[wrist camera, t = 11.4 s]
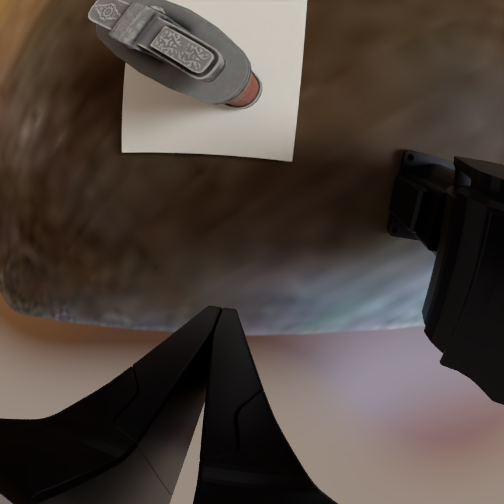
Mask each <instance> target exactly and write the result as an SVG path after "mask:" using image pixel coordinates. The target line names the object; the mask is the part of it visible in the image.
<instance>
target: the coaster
mask: <svg viewBox="0 0 504 504" xmlns="http://www.w3.org/2000/svg"><path fill="white" fill-rule="evenodd" d="M167 1H169V2H172V3H175V4H177V5H180V6H183V7H185V8H188V9H190V10H192V11H193V12H195V13H196V14H198V15H200V16H201V17H203V18H204V19H206V20H207V21H209V22H210V23H212V24H213V25H215V26H216V27H218V28H219V29H220V30H221V31H222V32H223V33H225V34H226V35H227V36H228V37H229V38H230V39H231V40H232V41H233V42H234V43H235V44H236V45H237V46H238V47H240V48H241V49H242V50H243V51H244V53H245V54H246V56H247V57H248V59H249V61H250V63H251V69H252V70H253V72H254V73H255V74H256V75H257V76H258V77H259V79H260V81H261V82H262V88H263V89H262V94H261V96H260V98H259V100H258V101H257V102H256V103H255V104H254V105H253V106H251V107H249V108H246V109H240V110H239V109H234V108H231V107H228V106H226V105H224V104H217V105H214V104H209V103H205V102H201V101H199V100H196V99H194V98H192V97H189V96H187V95H184V94H182V93H179V92H177V91H174V90H172V89H169V88H167V87H166V86H164V85H162V84H160V83H158V82H156V81H154V80H153V79H151V78H149V77H147V76H145V75H143V74H141V73H139V72H138V71H137V70H135V69H134V68H133V67H131V66H130V65H128V64H127V63H126V64H125V75H124V88H123V106H122V153H128V152H160V153H194V154H213V155H228V156H241V157H253V158H263V159H272V160H281V161H290V162H292V159H293V150H294V141H295V132H296V122H297V113H298V103H299V93H300V82H301V71H302V60H303V48H304V35H305V22H306V7H307V0H167Z"/></svg>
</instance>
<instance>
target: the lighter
mask: <svg viewBox="0 0 504 504" xmlns="http://www.w3.org/2000/svg"><path fill="white" fill-rule="evenodd" d="M88 17H89V19H90V20H91V21H93V22H95V23H97V26H96V34H97V36H98V37H99V39H100V40H101V41H102V42H103V43H104V44H105V45H106V46H107V47H108V48H109V49H110V50H111V51H112V52H113V53H114V54H115V55H116V56H117V57H119V58H120V59H122V60H123V61H124V62H126V63H127V64H128V65H130V66H131V67H133V68H134V69H135V70H137V71H138V72H139V73H141V74H143V75H145V76H147V77H149V78H151V79H153V80H154V81H156V82H158V83H160V84H162V85H164V86H166V87H167V88H169V89H172V90H174V91H177V92H179V93H182V94H184V95H187V96H189V97H192V98H194V99H196V100H199V101H201V102H205V103H209V104H214V105H217V104H224V105H226V106H228V107H231V108H234V109H239V110H240V109H246V108H249V107H251V106H253V105H254V104H255V103H256V102H257V101H258V100H259V98H260V96H261V94H262V89H263V88H262V82H261V81H260V79H259V77H258V76H257V75H256V74H255V73H254V72H253V70H252V69H251V63H250V61H249V59H248V57H247V56H246V54H245V53H244V51H243V50H242V49H241V48H240V47H238V46H237V45H236V44H235V43H234V42H233V41H232V40H231V39H230V38H229V37H228V36H227V35H226V34H225V33H223V32H222V31H221V30H220V29H219V28H218V27H216V26H215V25H213V24H212V23H210V22H209V21H207V20H206V19H204V18H203V17H201V16H200V15H198V14H196V13H195V12H193V11H192V10H190V9H188V8H185V7H183V6H180V5H177V4H175V3H172V2H169V1H167V0H97V1H96V3H95V4H94V5H93V7H92V8H91V10H90V11H89V15H88Z"/></svg>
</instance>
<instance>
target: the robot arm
mask: <svg viewBox="0 0 504 504" xmlns="http://www.w3.org/2000/svg"><path fill="white" fill-rule="evenodd" d="M409 154H411V159H410V160H408V155H409ZM389 209H390V211H391V213H390V217H389V221H388V225H387V231H388V233H389V234H390V235H391V236H395V237H402V238H408V239H414V240H420V241H421V242H422V243H423V244H424V245H425V246H426V248H427V249H428V250H430V251H432V252H433V253H434V254H435V255H436V259H435V263H434V268H433V272H432V276H431V280H430V284H429V288H428V291H427V295H426V298H425V302H424V306H423V310H422V314H423V319H424V324H425V329H424V332H425V334H426V335H427V337H428V338H429V340H430V341H431V342H432V343H433V344H434V345H435V346H436V347H437V348H438V349H439V350H440V351H441V352H442V353H443V356H442V358H441V360H440V363H441V365H443V366H446V367H448V368H451V369H454V370H457V371H459V372H460V373H462V374H464V375H465V376H467V377H469V378H470V379H471V380H472V381H474V382H475V383H476V384H477V385H478V386H479V387H480V388H481V389H482V390H483V391H484V392H485V393H486V395H487V396H488V397H489V398H490V399H491V400H492V401H494V402H497V403H500V404H503V405H504V165H502V164H497V163H492V162H487V161H482V160H476V159H470V158H464V157H457V156H454V163H452V162H449V161H446V160H443V159H439V158H436V157H433V156H430V155H426V154H423V153H419V152H416V151H412V150H405V151H404V152H403V155H402V160H401V166H400V171H399V175H397V176H396V178H395V183H394V188H393V193H392V198H391V202H390V207H389ZM393 227H396V229H395V230H394V231H392V228H393ZM204 402H205V408H204V418H203V428H202V438H201V450H200V462H199V472H198V480H197V486H196V491H195V496H194V501H193V504H338V503H336V502H335V501H333V500H332V499H331V498H330V497H328V496H327V495H326V494H325V493H323V492H322V491H321V490H320V489H319V488H318V487H317V486H316V485H315V484H314V483H313V481H312V480H311V479H310V477H309V476H308V474H307V473H306V472H305V470H304V468H303V467H302V465H301V463H300V462H299V460H298V459H297V457H296V455H295V454H294V452H293V450H292V448H291V447H290V445H289V443H288V441H287V440H286V438H285V436H284V434H283V433H282V431H281V429H280V427H279V425H278V423H277V421H276V419H275V417H274V415H273V412H272V410H271V407H270V405H269V402H268V400H267V397H266V394H265V392H264V389H263V386H262V384H261V380H260V378H259V375H258V372H257V369H256V366H255V364H254V360H253V358H252V355H251V352H250V349H249V346H248V343H247V340H246V337H245V334H244V331H243V328H242V325H241V322H240V319H239V316H238V313H237V310H235V309H230V308H223V309H222V308H221V307H215V306H208V307H206V308H205V309H204V310H202V311H201V312H200V313H199V314H197V315H196V316H195V317H194V318H192V319H191V320H190V321H189V322H187V323H186V324H185V325H183V326H182V327H181V328H180V329H178V330H177V331H176V332H175V333H173V334H172V335H171V336H170V337H168V338H167V339H166V340H165V341H163V342H162V343H161V344H159V345H158V346H157V347H156V348H154V349H153V350H152V351H150V352H149V353H148V354H146V355H145V356H144V357H143V358H141V359H140V360H139V361H137V362H136V363H135V364H134V365H133V367H130V368H128V369H127V370H126V371H124V372H123V373H122V374H120V375H119V376H118V377H116V378H115V379H113V380H112V381H111V382H110V383H108V384H106V385H105V386H103V387H101V388H100V389H99V390H97V391H95V392H94V393H92V394H90V395H88V396H87V397H85V398H83V399H82V400H80V401H78V402H76V403H75V404H73V405H71V406H69V407H68V408H66V409H64V410H62V411H61V412H59V413H57V414H55V415H52V416H50V417H46V418H42V419H31V420H29V419H26V420H25V419H0V504H169V503H170V501H171V498H172V495H173V492H174V489H175V486H176V483H177V480H178V477H179V474H180V472H181V469H182V466H183V463H184V460H185V457H186V454H187V451H188V448H189V445H190V442H191V440H192V437H193V434H194V431H195V428H196V425H197V422H198V419H199V416H200V413H201V411H202V408H203V405H204Z"/></svg>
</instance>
